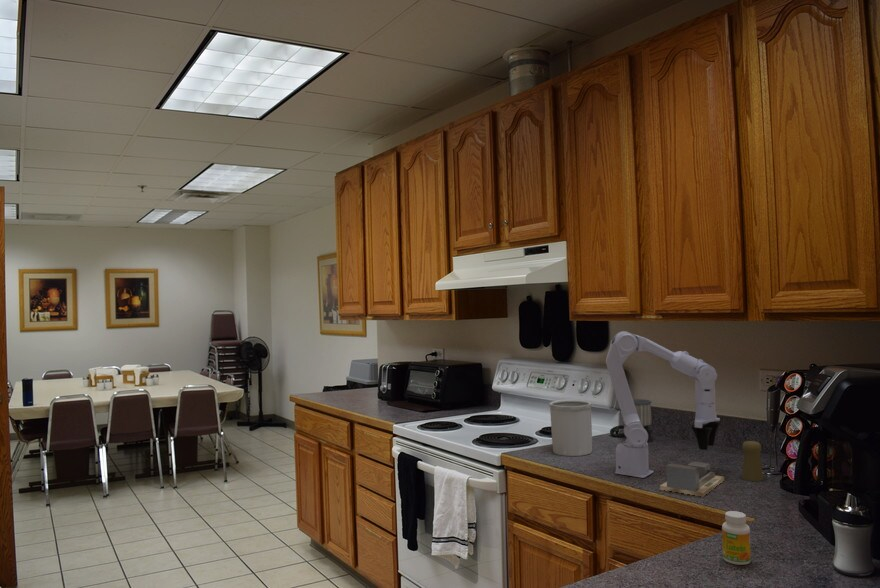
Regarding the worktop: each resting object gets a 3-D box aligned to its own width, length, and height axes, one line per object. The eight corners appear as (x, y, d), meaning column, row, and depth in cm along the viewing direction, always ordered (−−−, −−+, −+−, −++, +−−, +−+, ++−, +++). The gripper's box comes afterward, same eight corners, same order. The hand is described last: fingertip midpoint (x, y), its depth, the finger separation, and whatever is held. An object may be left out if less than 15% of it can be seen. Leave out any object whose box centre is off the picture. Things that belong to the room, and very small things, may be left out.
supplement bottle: (723, 563, 137) (722, 517, 137) (722, 553, 142) (720, 508, 142) (752, 566, 135) (750, 519, 135) (749, 556, 140) (748, 511, 140)
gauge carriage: (687, 476, 195) (687, 464, 195) (693, 472, 198) (693, 461, 198) (714, 480, 190) (714, 468, 190) (719, 476, 193) (719, 464, 193)
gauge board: (660, 489, 187) (659, 480, 187) (683, 474, 202) (683, 465, 202) (703, 497, 180) (703, 487, 179) (724, 480, 194) (724, 471, 194)
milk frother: (653, 443, 243) (652, 403, 243) (609, 441, 248) (608, 402, 248) (652, 435, 257) (651, 397, 257) (610, 433, 261) (609, 396, 261)
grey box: (666, 486, 186) (666, 465, 186) (670, 484, 188) (670, 463, 188) (695, 491, 181) (695, 469, 181) (699, 489, 183) (698, 467, 183)
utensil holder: (547, 455, 229) (546, 405, 229) (554, 445, 243) (552, 398, 243) (590, 458, 225) (589, 406, 224) (594, 447, 239) (593, 399, 239)
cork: (744, 474, 200) (743, 438, 200) (766, 477, 196) (765, 440, 196) (739, 479, 195) (737, 442, 195) (761, 482, 191) (760, 444, 191)
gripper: (711, 407, 192) (712, 454, 193) (726, 400, 204) (727, 444, 204) (687, 405, 197) (688, 450, 197) (702, 398, 208) (704, 441, 208)
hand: (706, 447), depth 201 cm, fingers open, 5 cm apart
